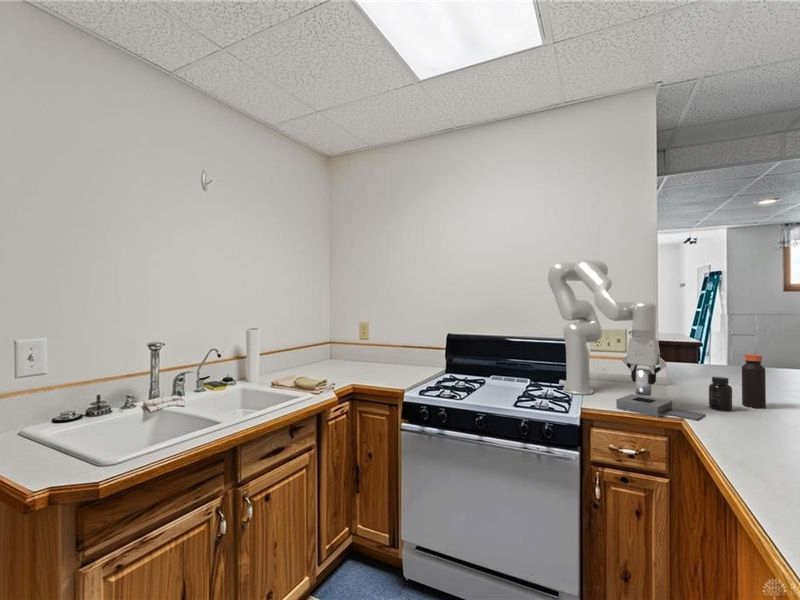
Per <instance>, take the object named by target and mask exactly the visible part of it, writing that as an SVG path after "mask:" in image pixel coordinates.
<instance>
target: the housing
mask: <svg viewBox="0 0 800 600" xmlns="http://www.w3.org/2000/svg"><path fill="white" fill-rule="evenodd" d="M615 404H616V408H617V409H618V410H622V411H627V412H631V413H636V414H642V415H647V416H650V417H655V418H659V417H661V416H663V415H665V414H667V413H668V412H670V411H672V410H673V401H672V400H670V399H663V398H659V397H658V398H657V397H652V396H644V395H638V394H636V393H631V394H628V395H624V396H622V397H620V398H617V399H616V403H615ZM616 408H615V409H616Z"/></svg>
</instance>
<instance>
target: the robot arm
mask: <svg viewBox="0 0 800 600" xmlns="http://www.w3.org/2000/svg"><path fill="white" fill-rule="evenodd" d="M608 273H609V268H608V266H607V265H606V263H604V262H603V261H601V260H588V259H587V260H582V261H579V262H558V263H555V264H553V265H552V266H551V267H550V268H549V271H548V273H547V281H548V285H549V287H550V289H551V292H552V293H553V296H554V299H555V303H556V305H557V308H558V311H559V314H560V316H561V319H563V320H565V321H574V322H571V323H568V324H566V325H565V327H564V329H563V338H564V342H565V343H564V345H565V358H566V359H565V362H566V365H565V367H566V380H564V379H559V382H558V384H559V385H561V386H563V388H562V392H564V393H567V394H570V395H571V394H573V395H580V396H586V395H588V394H589V395H593V394H594V389H592V388H591V387H590V385H591V384H590V383H591V382H590V351H589V348H588V346H587V343H595V342H598V341H599V340H601V337H602V335H603V334H602V333H603V332H602V330H603V329H602V327H601V324H600V321H599V318H598V316H597V314H596V310H595V308H594V306H593V305H592V303H591V302H589V301H587V300H583V299H581V300H579V299H577V298H576V296H575V293H574V291H573V290H574V289H573V288H572V287H571V286H570V285H569V284H568V283H567V281H568V282H570V281H571V282H582V283H584V285H585V286H586V287H587V288H588V289H589V290H590V292H591V293H593V300H594V304H595V306H596V308H597V309H598V310H599V311H600V313H601V314H603V316H605V317H606V318H607V319H609V320H611V321H615V322H619V321H632V325H631V326H632V327H631V328H632V329H631V330H629V331H628V332H627V333H628V335H631V337H630V338H629V340H628V345H627V351H626V356H625V357H624V358H623V359H622V363H624V365H626V367H627V368H628V369H629V370H630V372H631V373H630V375H631V377H630V378H631V380H632V382H635V370H636V368H638V366H644V367H648V369H650V371H651V374H649V384H651V386H652V385H654V384H655V383H656V381H657V374H658V373H659V372H660V371H661V370H663V369H665V368H667V364H666V363H665V361H663V359H662V358H661V352H660V350H661V349H660V345H659V341H658V339H657V337H656V334H657V333H656V331H657V327H656V325H657V321H656V320H657V306H656V304H655V303H654V302H653V303H652V302H635V301H616V300H615V299H614V298H613V297H612V296H611V295H610V294H609V293H608V291H610V289H611V288H612V286H613V282H612V280H611V279H610V278H609V277H608V275H609V274H608ZM658 365H659V366H658ZM657 366H658V367H657ZM592 393H593V394H592Z"/></svg>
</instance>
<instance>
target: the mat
mask: <svg viewBox="0 0 800 600" xmlns="http://www.w3.org/2000/svg"><path fill="white" fill-rule="evenodd" d="M666 415H667V416H672V417H675V418H682V419H685V420H691V421H696V422H698V421H699V420H701V419H703V418H705V416H706V413H701V412H697V411H696V412H695V411H691V410H686V409H684V410H683V409H679V408H674V409H672V410H671V411H669V412H667V413H666Z"/></svg>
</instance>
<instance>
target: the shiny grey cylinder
mask: <svg viewBox="0 0 800 600" xmlns="http://www.w3.org/2000/svg"><path fill="white" fill-rule="evenodd" d="M649 374H651V371H650V368H643V367H642V368H641V367H640V368H639V367H637V368H636V370H635V383H634V387H635V390H634V392H635V393H634V394H636V395H642V396H647V397H651V396H652V385H651V384H649Z"/></svg>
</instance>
